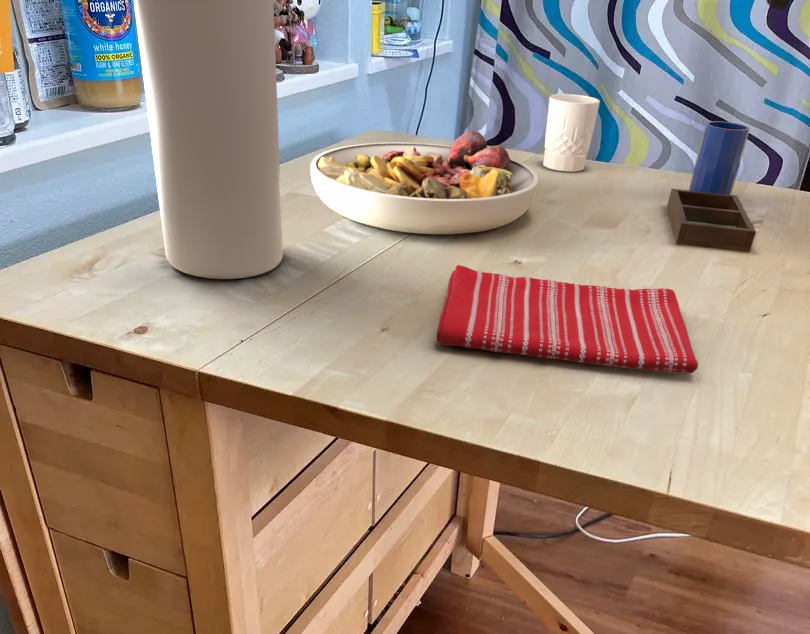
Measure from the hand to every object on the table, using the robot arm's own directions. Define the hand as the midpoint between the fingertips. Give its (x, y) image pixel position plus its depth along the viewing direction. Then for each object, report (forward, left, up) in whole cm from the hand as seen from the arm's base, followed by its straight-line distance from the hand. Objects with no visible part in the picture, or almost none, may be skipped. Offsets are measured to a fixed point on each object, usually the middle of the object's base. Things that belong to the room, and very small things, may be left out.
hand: (775, 6), depth 104 cm
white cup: (+24, -13, -25) cm, 37 cm away
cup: (+2, -2, -24) cm, 25 cm away
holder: (+4, +14, -24) cm, 28 cm away
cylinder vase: (+59, +48, -25) cm, 80 cm away
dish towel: (+22, +55, -25) cm, 64 cm away
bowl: (+42, +19, -25) cm, 52 cm away
